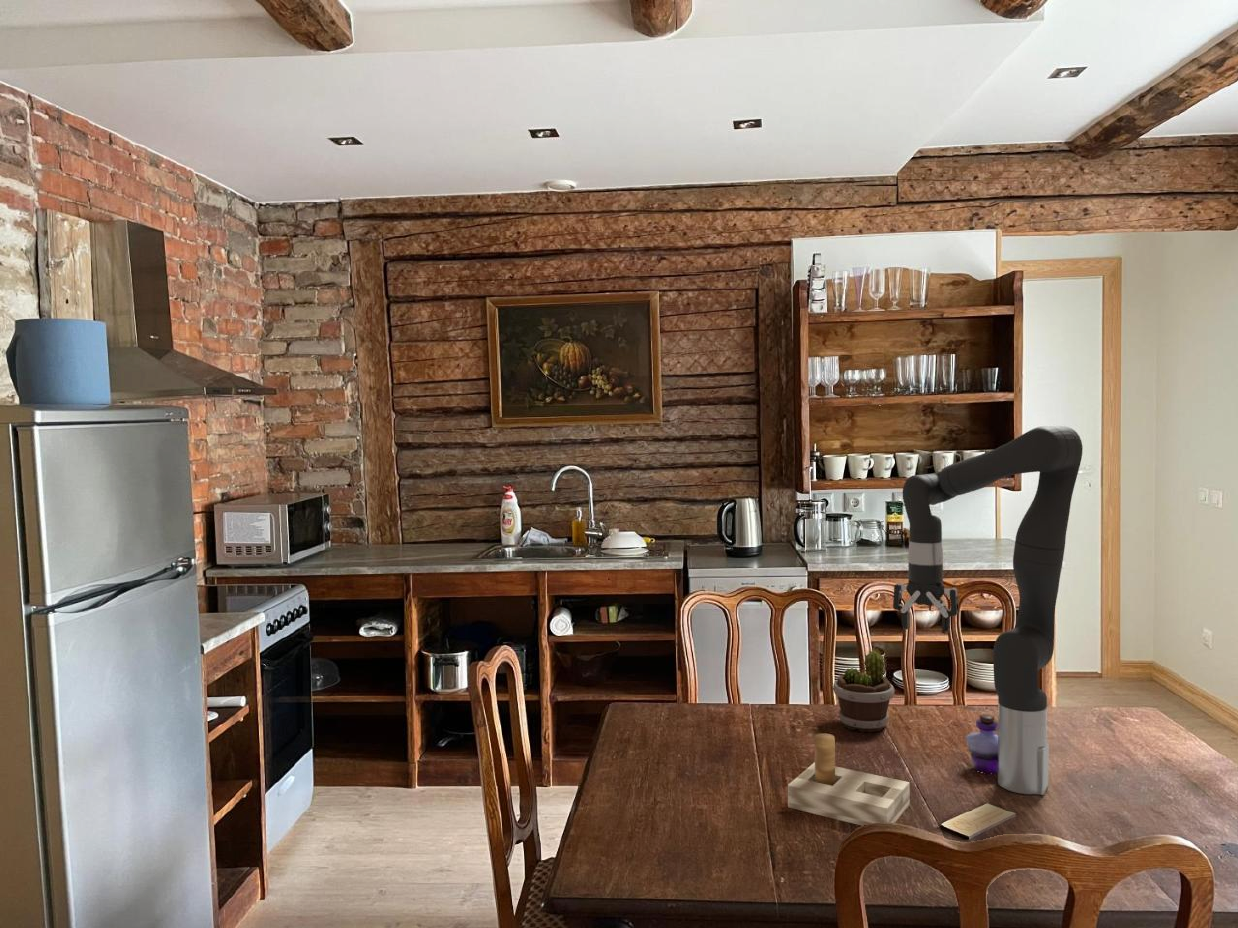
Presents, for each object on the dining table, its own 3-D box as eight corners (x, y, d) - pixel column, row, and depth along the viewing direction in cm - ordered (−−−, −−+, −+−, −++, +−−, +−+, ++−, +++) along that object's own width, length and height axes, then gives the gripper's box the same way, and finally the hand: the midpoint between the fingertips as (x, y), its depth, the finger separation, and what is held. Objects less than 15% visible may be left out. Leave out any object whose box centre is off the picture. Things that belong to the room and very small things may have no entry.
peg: (838, 792, 183) (837, 735, 182) (830, 800, 180) (829, 742, 179) (820, 788, 185) (819, 731, 184) (812, 795, 182) (811, 738, 181)
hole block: (909, 804, 180) (909, 782, 180) (887, 831, 168) (887, 808, 168) (814, 782, 191) (814, 761, 191) (787, 806, 180) (787, 784, 179)
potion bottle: (1010, 779, 191) (1010, 724, 190) (966, 775, 193) (966, 720, 193) (1006, 764, 199) (1006, 711, 198) (964, 760, 202) (965, 707, 201)
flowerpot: (853, 739, 216) (853, 657, 214) (822, 718, 230) (822, 641, 229) (906, 732, 219) (906, 651, 218) (873, 712, 234) (872, 637, 233)
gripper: (961, 560, 205) (961, 630, 206) (899, 556, 213) (899, 623, 214) (953, 565, 199) (953, 638, 200) (889, 561, 207) (889, 630, 208)
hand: (925, 630), depth 207 cm, fingers open, 8 cm apart
